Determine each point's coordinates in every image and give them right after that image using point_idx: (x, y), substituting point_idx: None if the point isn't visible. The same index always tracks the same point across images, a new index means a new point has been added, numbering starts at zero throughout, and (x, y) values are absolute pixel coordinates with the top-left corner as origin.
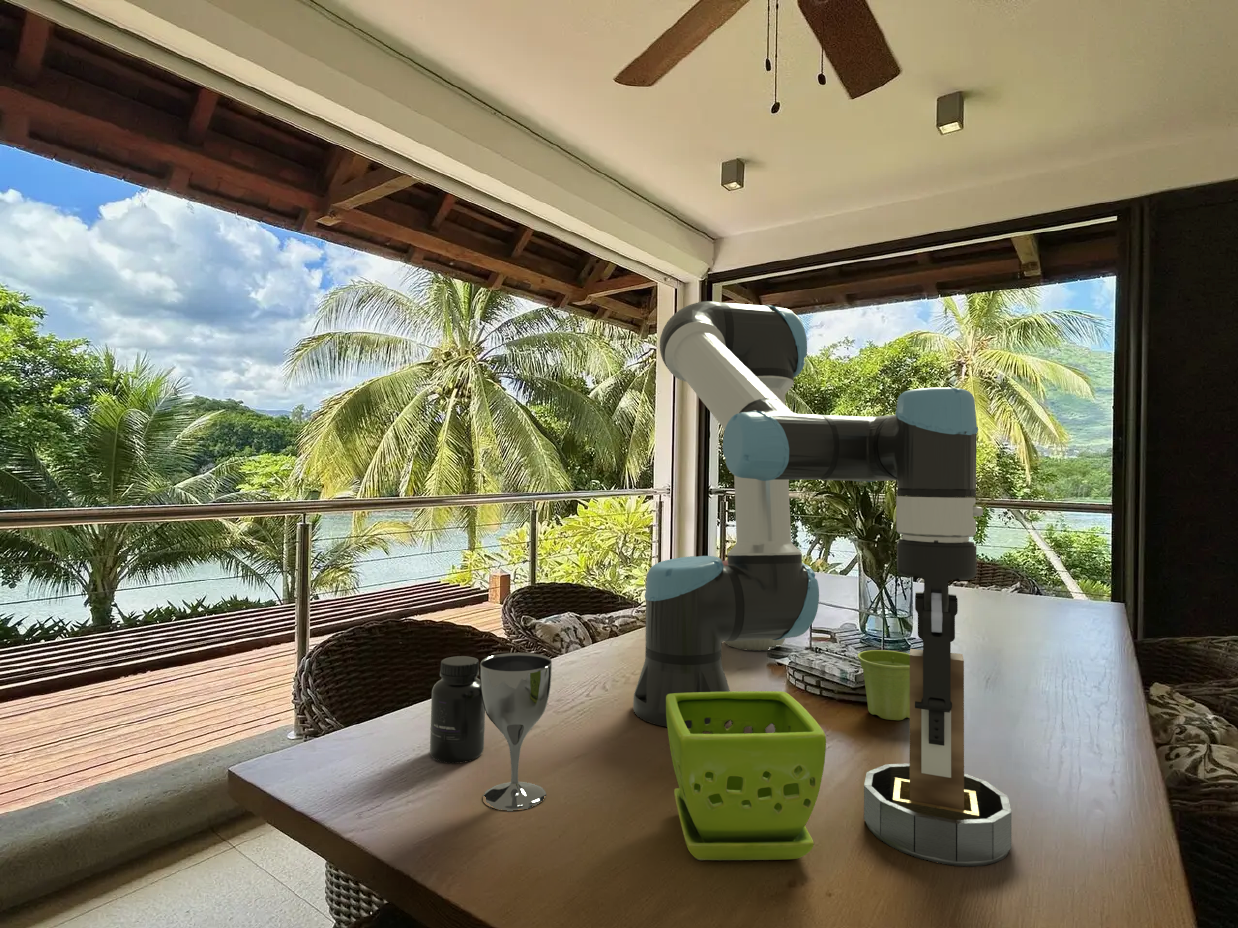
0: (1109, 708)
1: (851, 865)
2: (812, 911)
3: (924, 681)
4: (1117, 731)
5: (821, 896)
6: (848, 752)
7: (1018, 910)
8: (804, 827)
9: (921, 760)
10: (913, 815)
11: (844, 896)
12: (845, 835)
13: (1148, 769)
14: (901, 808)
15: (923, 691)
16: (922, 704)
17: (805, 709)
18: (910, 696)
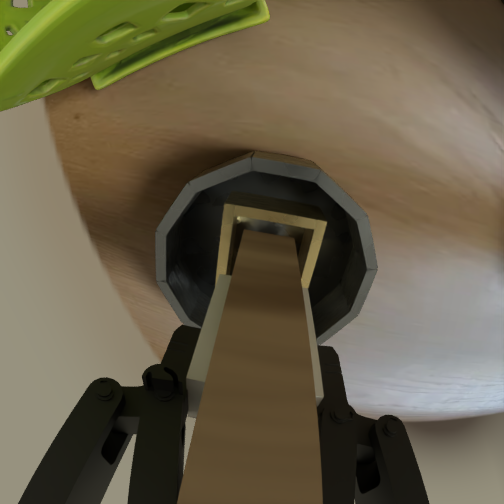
0: (497, 404)
1: (133, 132)
2: (52, 108)
3: (59, 436)
4: (469, 409)
5: (72, 110)
6: (491, 175)
7: (123, 288)
8: (128, 69)
9: (216, 287)
10: (157, 229)
11: (78, 132)
12: (209, 121)
13: (413, 420)
14: (172, 214)
15: (72, 412)
16: (97, 382)
17: (72, 1)
18: (205, 383)
